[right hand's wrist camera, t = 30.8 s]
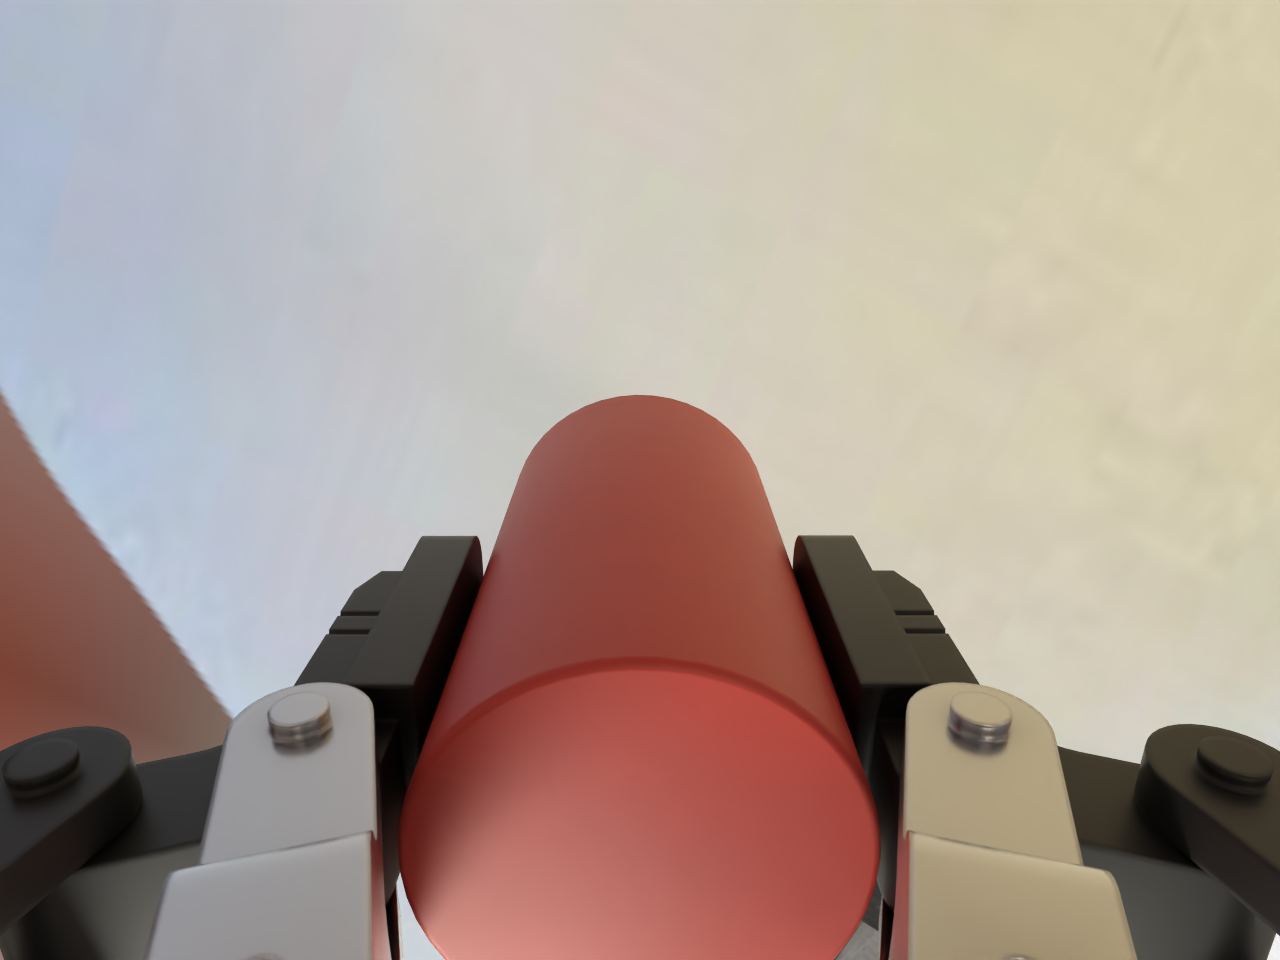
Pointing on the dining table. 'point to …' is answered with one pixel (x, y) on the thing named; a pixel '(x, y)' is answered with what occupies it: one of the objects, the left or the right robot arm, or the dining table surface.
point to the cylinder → (639, 721)
